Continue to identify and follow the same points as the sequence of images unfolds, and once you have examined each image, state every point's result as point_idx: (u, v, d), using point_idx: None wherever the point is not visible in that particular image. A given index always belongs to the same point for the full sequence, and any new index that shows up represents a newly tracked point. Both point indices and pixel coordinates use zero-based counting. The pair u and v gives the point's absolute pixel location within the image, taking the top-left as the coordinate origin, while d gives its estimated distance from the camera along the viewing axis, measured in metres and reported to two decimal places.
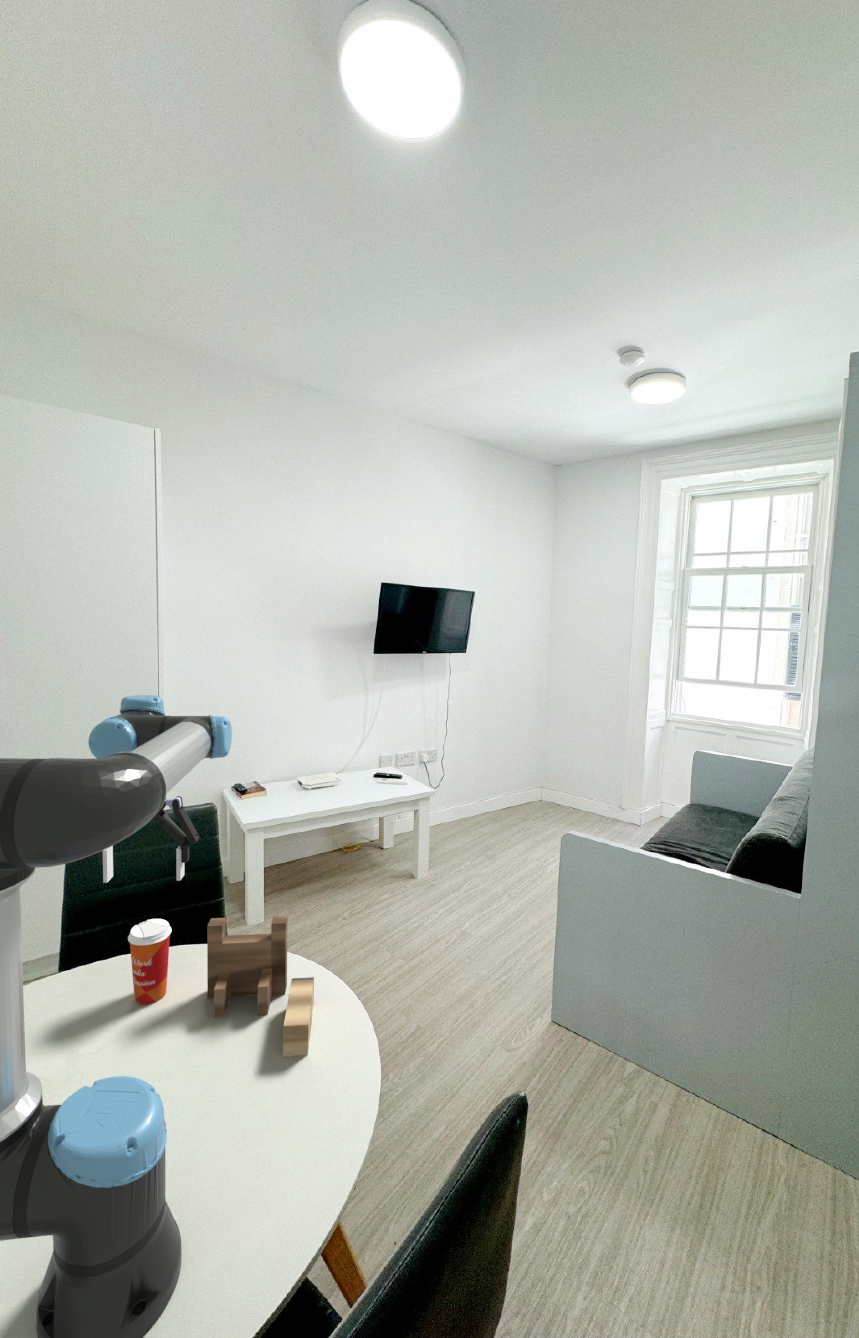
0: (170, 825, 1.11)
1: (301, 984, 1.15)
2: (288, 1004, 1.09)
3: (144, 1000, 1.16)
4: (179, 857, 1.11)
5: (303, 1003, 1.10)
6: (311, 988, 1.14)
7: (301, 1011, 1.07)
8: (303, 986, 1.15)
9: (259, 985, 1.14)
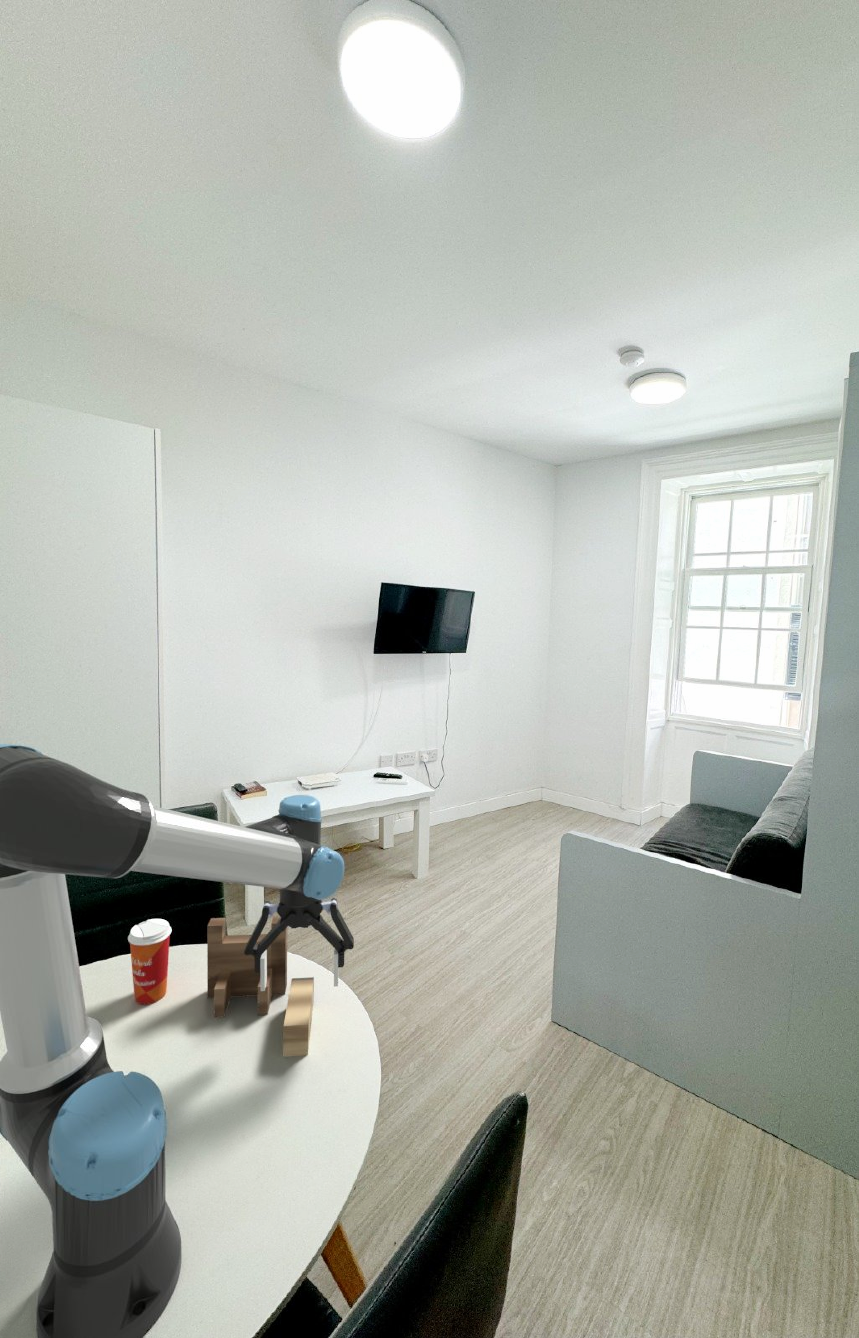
0: (327, 930, 1.07)
1: (301, 984, 1.15)
2: (288, 1004, 1.09)
3: (144, 1000, 1.16)
4: (337, 962, 1.07)
5: (303, 1003, 1.10)
6: (311, 988, 1.14)
7: (301, 1011, 1.07)
8: (303, 986, 1.15)
9: (259, 985, 1.14)
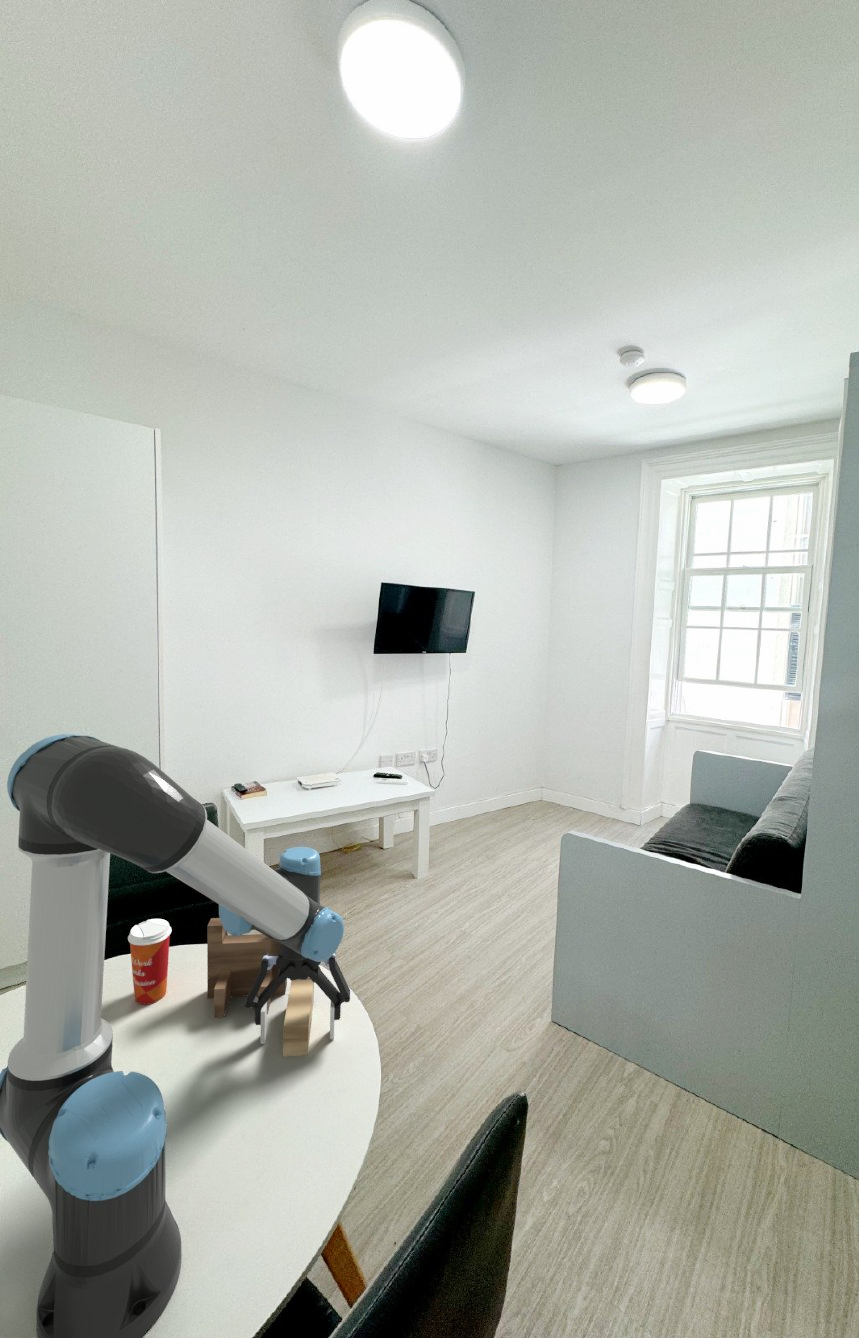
0: (325, 982, 1.08)
1: (301, 984, 1.15)
2: (288, 1004, 1.09)
3: (144, 1000, 1.16)
4: (333, 1015, 1.08)
5: (303, 1003, 1.10)
6: (311, 988, 1.14)
7: (301, 1011, 1.07)
8: (303, 986, 1.15)
9: None
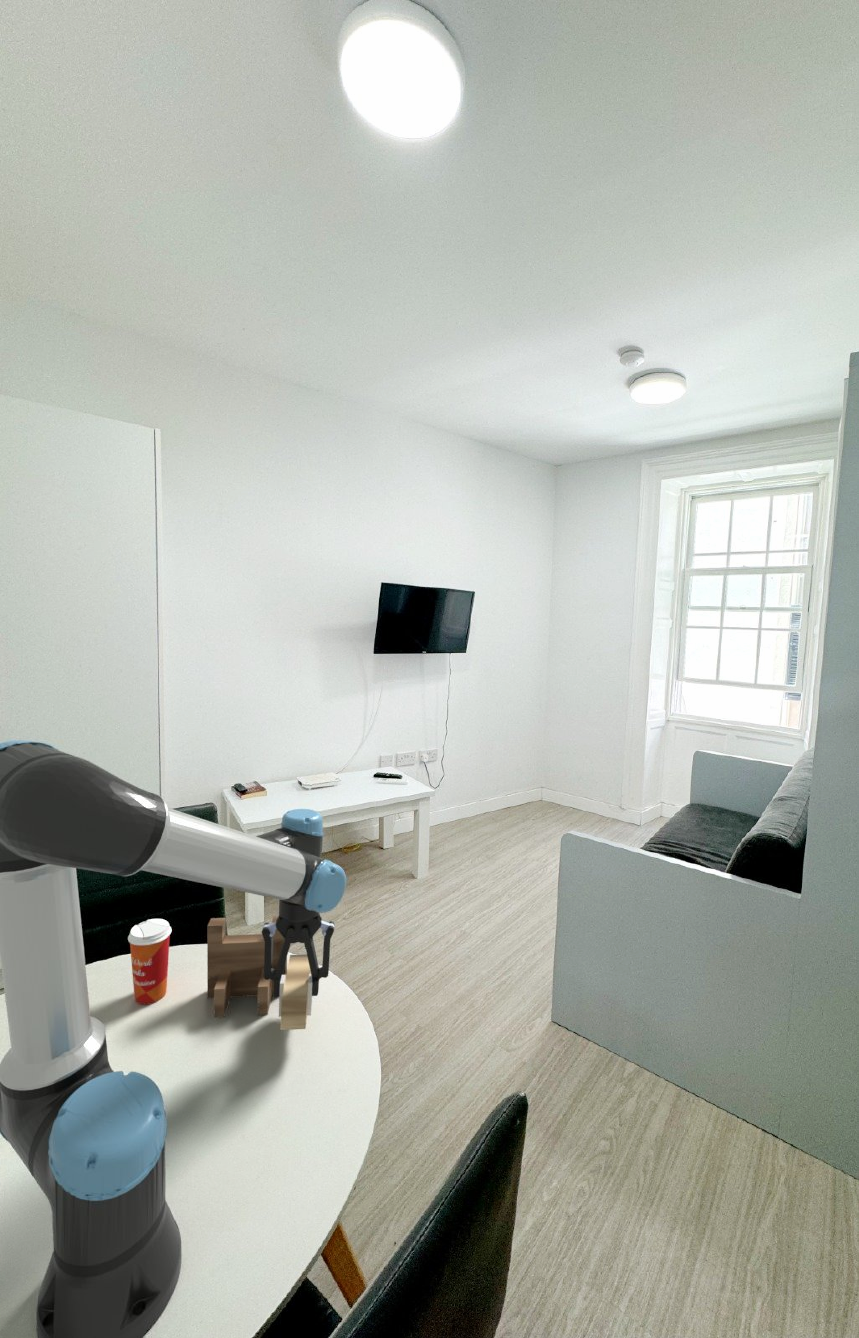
0: (313, 953, 1.07)
1: (299, 960, 1.14)
2: (286, 978, 1.08)
3: (144, 1000, 1.16)
4: (310, 991, 1.06)
5: (302, 978, 1.09)
6: None
7: (299, 985, 1.07)
8: (301, 962, 1.14)
9: (259, 985, 1.14)
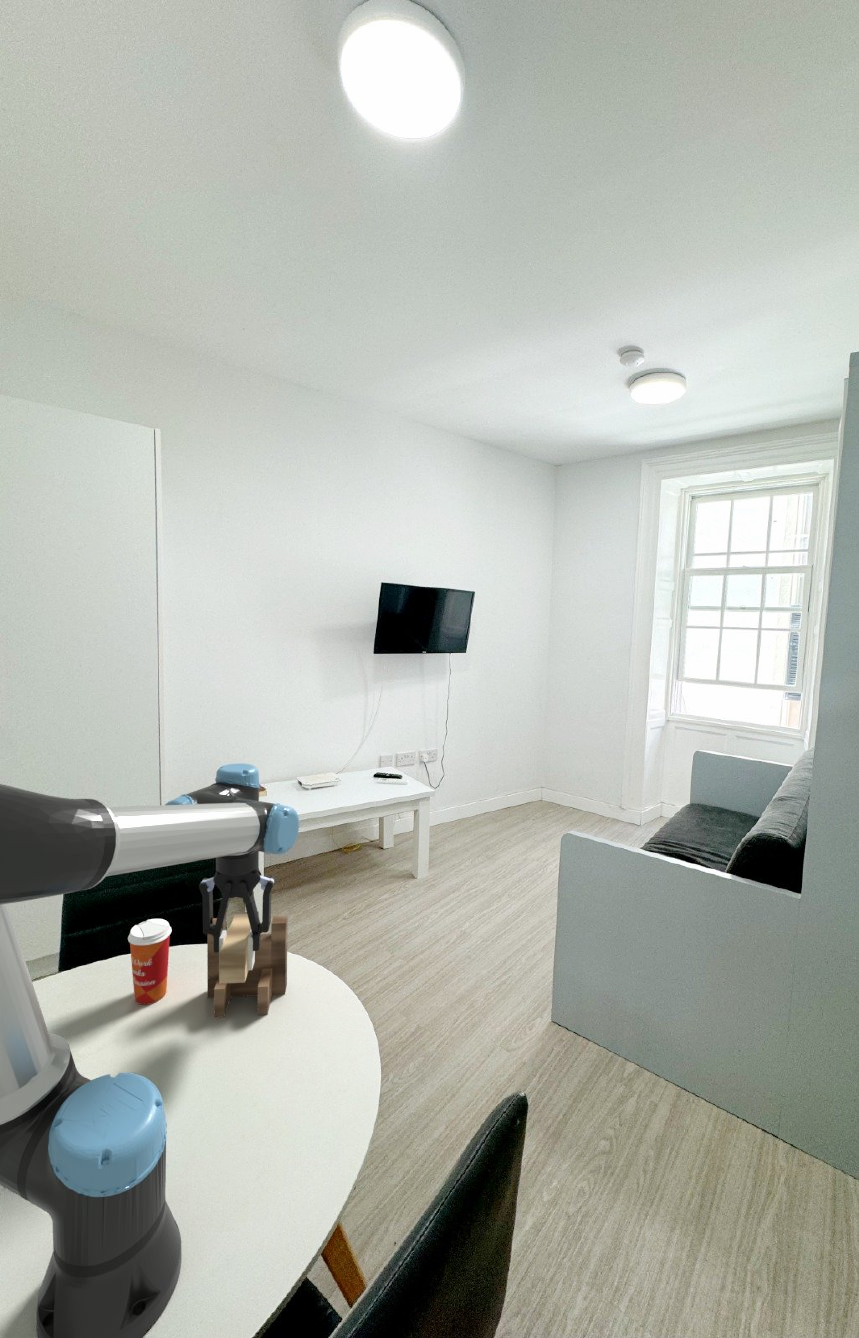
0: (253, 908, 1.05)
1: (244, 917, 1.14)
2: (228, 934, 1.07)
3: (144, 1000, 1.16)
4: (251, 946, 1.05)
5: (243, 933, 1.08)
6: None
7: (239, 940, 1.06)
8: (246, 919, 1.13)
9: (259, 985, 1.14)
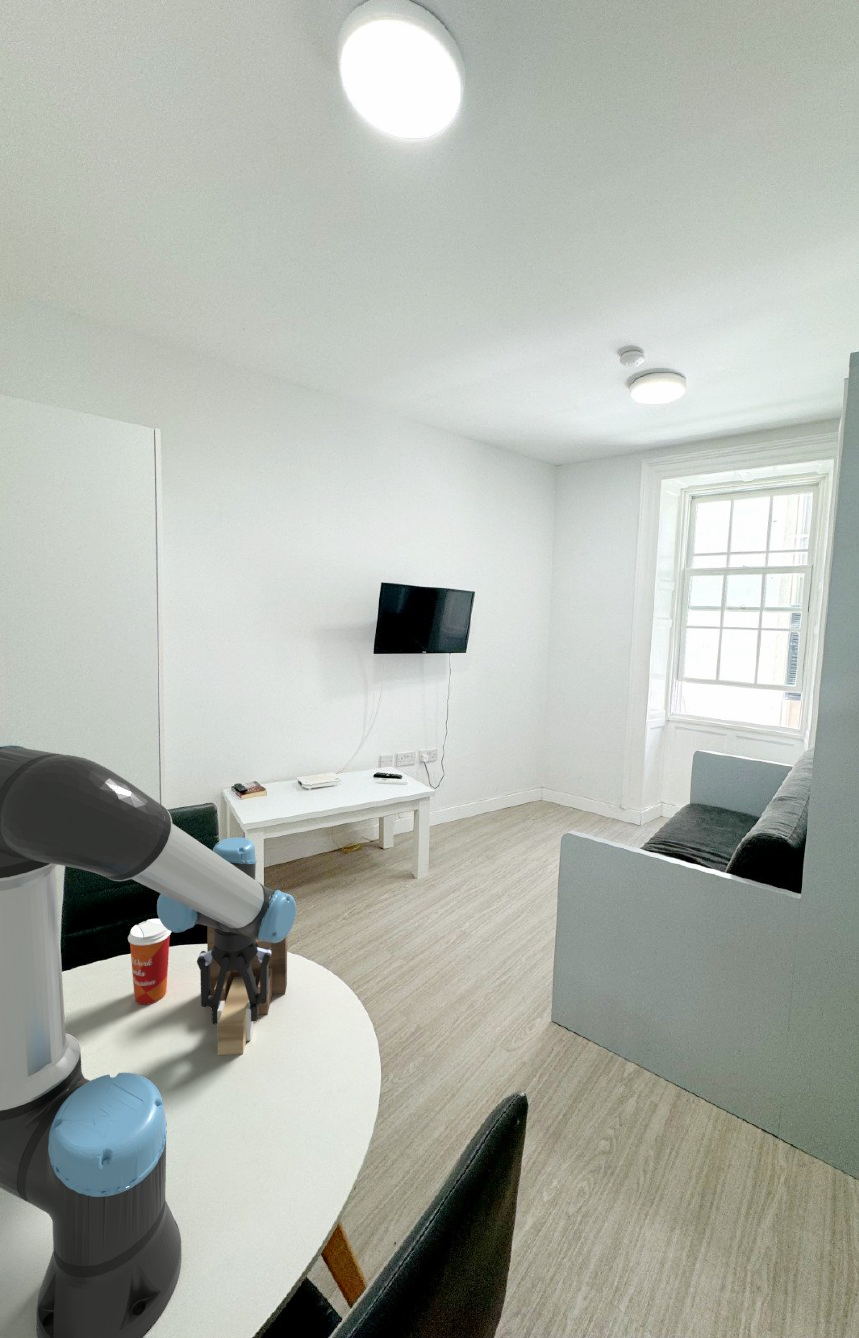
0: (251, 980, 1.07)
1: (242, 983, 1.15)
2: (226, 1003, 1.09)
3: (144, 1000, 1.16)
4: (249, 1017, 1.07)
5: (241, 1001, 1.09)
6: None
7: (237, 1010, 1.07)
8: (244, 985, 1.14)
9: (259, 985, 1.14)
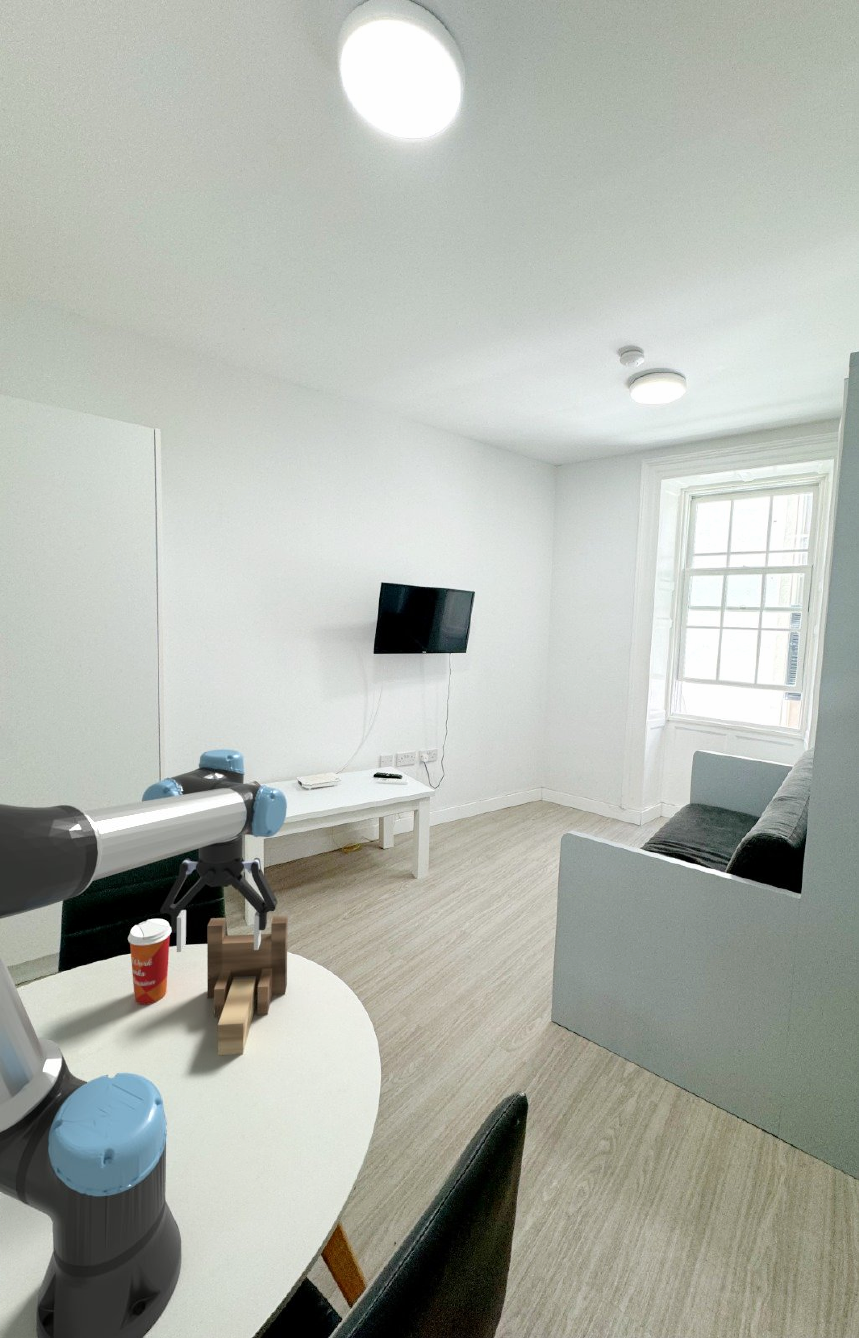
0: (248, 890, 1.03)
1: (242, 983, 1.15)
2: (226, 1003, 1.09)
3: (144, 1000, 1.16)
4: (257, 925, 1.03)
5: (242, 1002, 1.09)
6: (252, 987, 1.14)
7: (238, 1010, 1.07)
8: (244, 985, 1.14)
9: (259, 985, 1.14)
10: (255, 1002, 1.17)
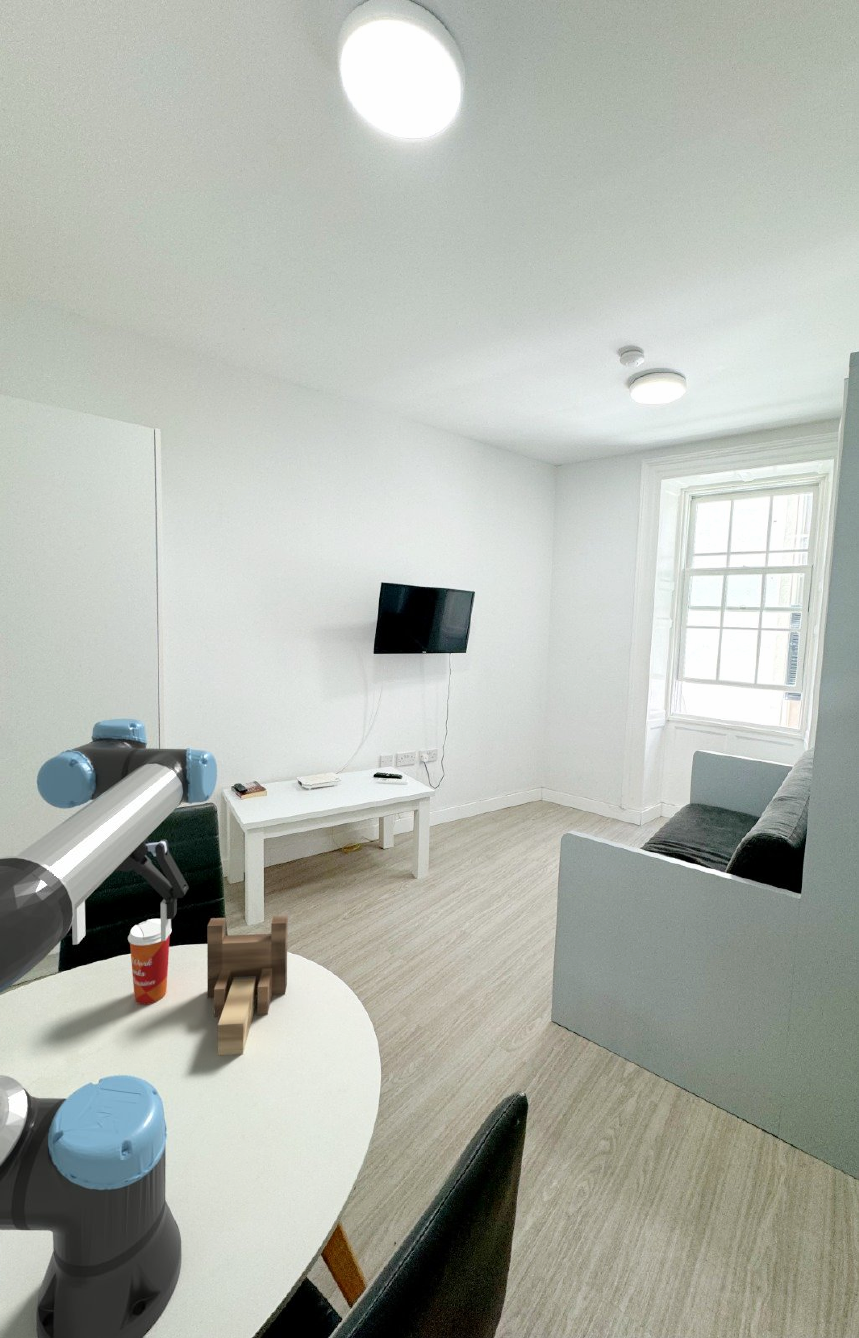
0: (153, 875, 0.93)
1: (242, 983, 1.15)
2: (226, 1003, 1.09)
3: (144, 1000, 1.16)
4: (164, 913, 0.93)
5: (242, 1002, 1.09)
6: (252, 987, 1.14)
7: (238, 1010, 1.07)
8: (244, 985, 1.14)
9: (259, 985, 1.14)
10: (255, 1002, 1.17)
